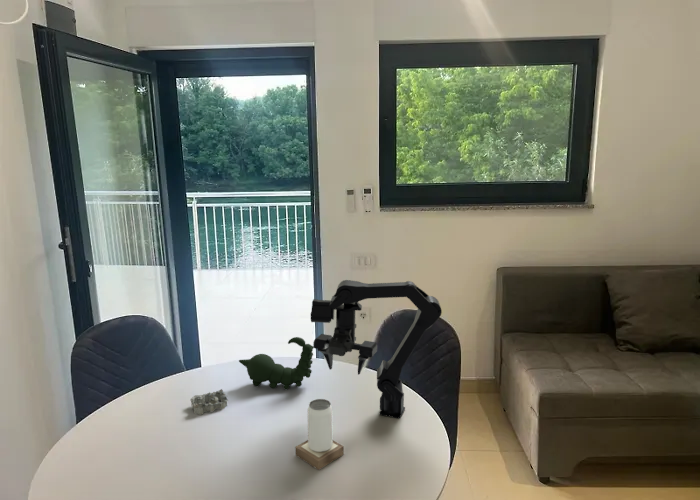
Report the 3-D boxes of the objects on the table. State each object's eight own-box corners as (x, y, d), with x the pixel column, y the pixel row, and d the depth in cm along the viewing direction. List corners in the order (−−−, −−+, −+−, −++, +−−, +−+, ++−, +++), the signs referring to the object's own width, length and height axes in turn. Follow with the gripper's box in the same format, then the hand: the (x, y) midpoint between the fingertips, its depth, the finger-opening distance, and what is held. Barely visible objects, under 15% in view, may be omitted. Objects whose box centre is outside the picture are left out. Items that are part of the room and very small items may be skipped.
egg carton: (194, 417, 154) (193, 405, 153) (190, 406, 161) (189, 394, 160) (229, 409, 159) (228, 396, 158) (223, 398, 165) (223, 386, 164)
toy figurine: (311, 384, 178) (241, 376, 179) (315, 334, 174) (243, 326, 175) (307, 397, 169) (233, 389, 170) (312, 344, 165) (236, 336, 166)
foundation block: (320, 441, 141) (320, 432, 140) (343, 454, 135) (343, 445, 134) (295, 455, 135) (295, 446, 134) (318, 469, 129) (318, 460, 128)
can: (334, 451, 132) (334, 409, 129) (309, 454, 130) (309, 411, 128) (330, 437, 138) (329, 397, 136) (306, 440, 137) (305, 399, 134)
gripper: (305, 327, 147) (305, 377, 150) (366, 336, 141) (365, 388, 144) (320, 315, 157) (320, 362, 160) (378, 324, 151) (377, 372, 154)
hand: (344, 371), depth 154 cm, fingers open, 9 cm apart
